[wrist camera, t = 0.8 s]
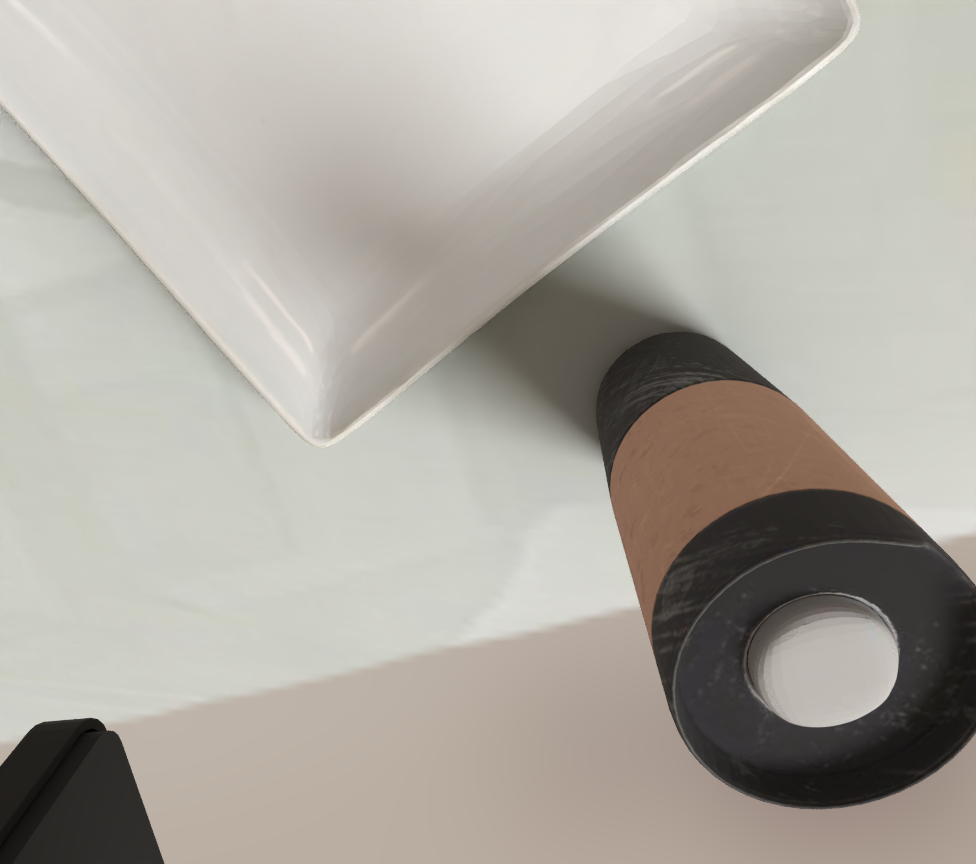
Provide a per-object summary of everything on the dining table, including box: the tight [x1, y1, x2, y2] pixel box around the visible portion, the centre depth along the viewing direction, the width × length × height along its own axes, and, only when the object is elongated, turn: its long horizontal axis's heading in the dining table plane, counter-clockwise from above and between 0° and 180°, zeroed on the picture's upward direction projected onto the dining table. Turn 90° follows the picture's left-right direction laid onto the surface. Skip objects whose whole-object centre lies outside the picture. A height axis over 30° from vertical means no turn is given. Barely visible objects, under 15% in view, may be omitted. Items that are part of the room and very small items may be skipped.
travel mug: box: [596, 332, 976, 809], centre depth 28 cm, size 8×8×20 cm
